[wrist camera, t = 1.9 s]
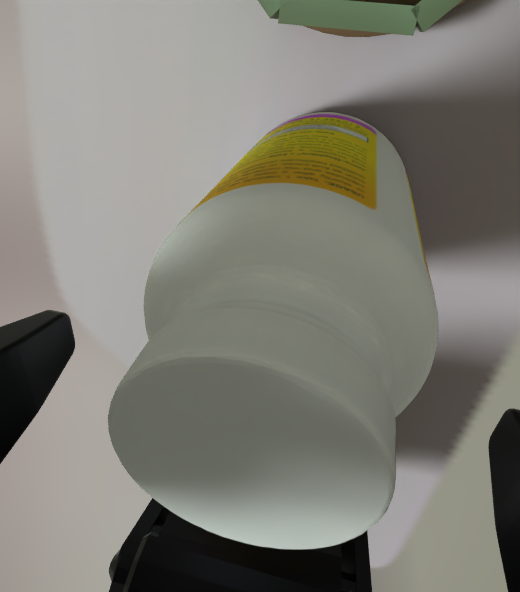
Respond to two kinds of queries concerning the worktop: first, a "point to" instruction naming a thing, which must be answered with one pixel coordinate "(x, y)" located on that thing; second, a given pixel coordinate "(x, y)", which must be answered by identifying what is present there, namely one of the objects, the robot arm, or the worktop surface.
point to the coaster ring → (360, 15)
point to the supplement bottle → (283, 342)
